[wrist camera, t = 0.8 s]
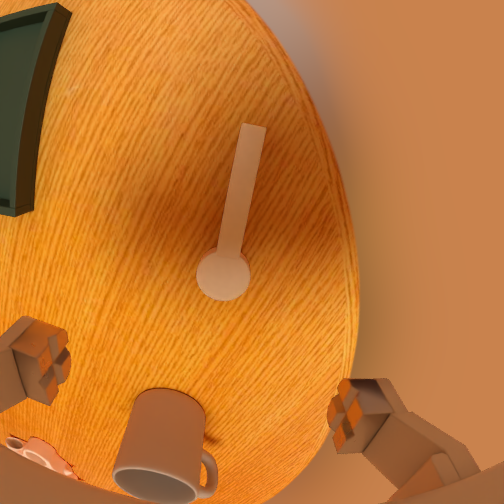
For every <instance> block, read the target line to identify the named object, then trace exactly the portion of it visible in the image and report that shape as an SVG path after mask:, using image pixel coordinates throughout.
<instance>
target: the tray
mask: <svg viewBox="0 0 504 504" xmlns="http://www.w3.org/2000/svg"><path fill="white" fill-rule="evenodd" d="M71 15H72V13H71V12H70V11H68V10H67V9H66V8H64V7H63V6H62V5H60V4H59V3H57V2H56V3H51V4H47V5H42V6H38V7H34V8H30V9H26V10H23V11H19V12H16V13H12V14H9V15H6V16H3V17H0V214H2V215H7V216H11V217H17V216H19V215H22V214H25V213H27V212H30V211H33V210H34V189H35V175H36V164H37V155H38V147H39V139H40V133H41V126H42V120H43V115H44V109H45V104H46V100H47V95H48V90H49V86H50V82H51V78H52V74H53V70H54V66H55V63H56V59H57V56H58V53H59V49H60V46H61V43H62V40H63V37H64V34H65V31H66V28H67V25H68V23H69V20H70V17H71Z"/></svg>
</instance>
